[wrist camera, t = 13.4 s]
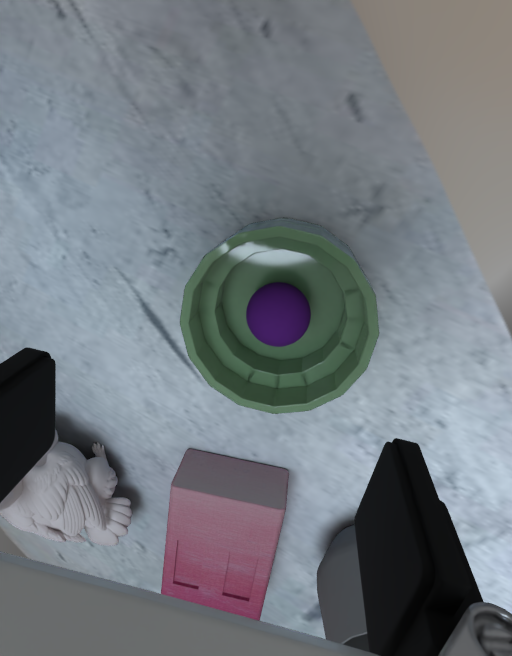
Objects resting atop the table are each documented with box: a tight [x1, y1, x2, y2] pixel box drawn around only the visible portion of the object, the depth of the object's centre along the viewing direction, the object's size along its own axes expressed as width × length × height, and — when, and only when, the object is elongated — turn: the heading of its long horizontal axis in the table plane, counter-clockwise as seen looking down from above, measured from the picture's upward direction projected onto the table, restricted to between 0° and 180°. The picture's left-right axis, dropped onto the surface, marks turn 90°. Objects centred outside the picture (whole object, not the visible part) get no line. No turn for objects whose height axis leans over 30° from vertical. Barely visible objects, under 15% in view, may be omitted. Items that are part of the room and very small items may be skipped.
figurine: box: [0, 429, 132, 546], centre depth 33 cm, size 8×15×13 cm, turn 37°
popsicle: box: [161, 449, 289, 621], centre depth 37 cm, size 9×5×20 cm
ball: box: [246, 282, 311, 347], centre depth 28 cm, size 4×4×4 cm
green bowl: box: [180, 217, 379, 414], centre depth 28 cm, size 12×12×6 cm
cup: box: [317, 525, 369, 652], centre depth 33 cm, size 10×9×10 cm
